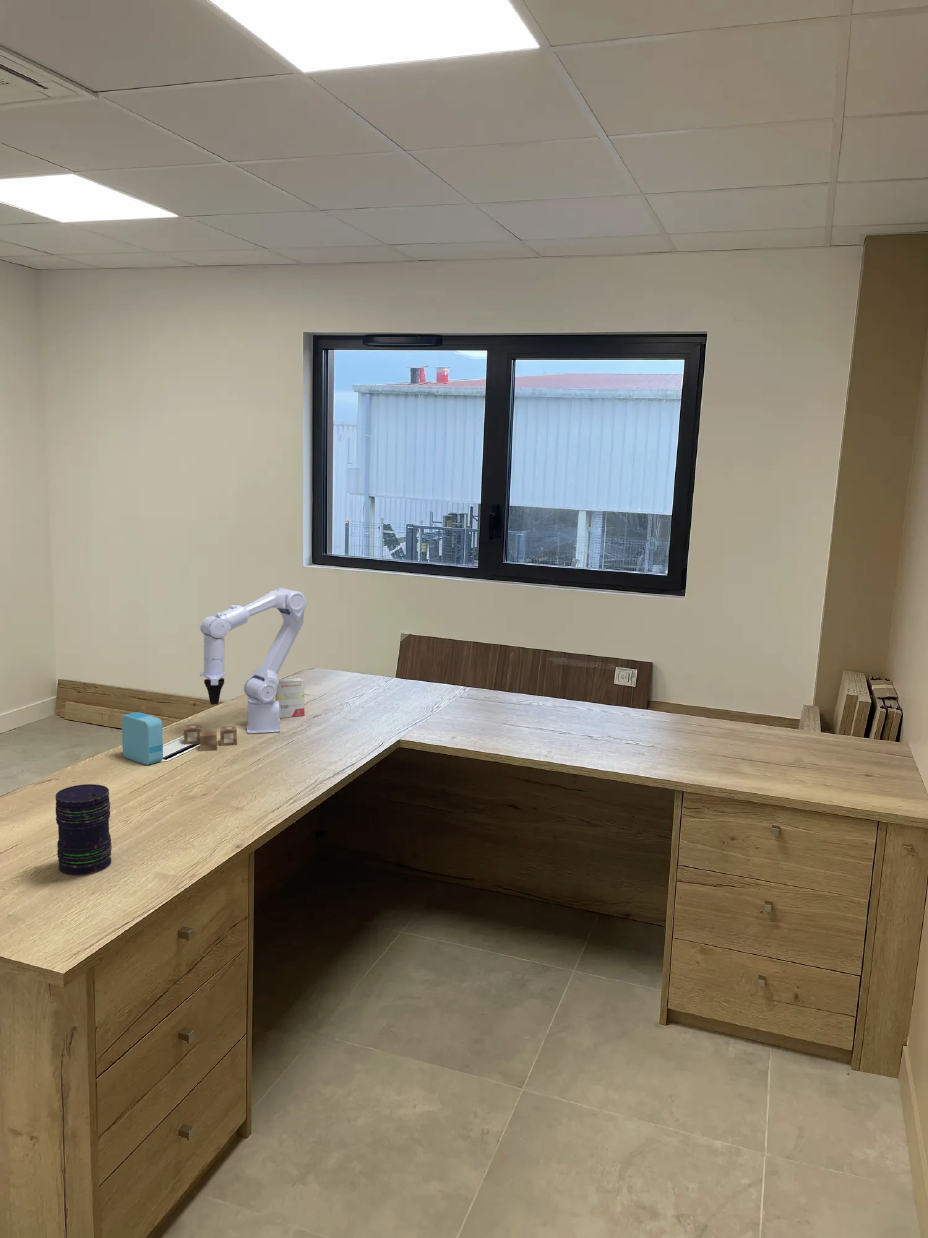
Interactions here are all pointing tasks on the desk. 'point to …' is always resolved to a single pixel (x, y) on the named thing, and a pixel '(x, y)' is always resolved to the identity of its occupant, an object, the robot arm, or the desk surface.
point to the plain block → (208, 740)
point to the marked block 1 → (192, 734)
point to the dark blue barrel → (83, 829)
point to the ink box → (290, 697)
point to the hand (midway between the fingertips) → (214, 704)
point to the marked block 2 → (228, 735)
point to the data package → (142, 738)
